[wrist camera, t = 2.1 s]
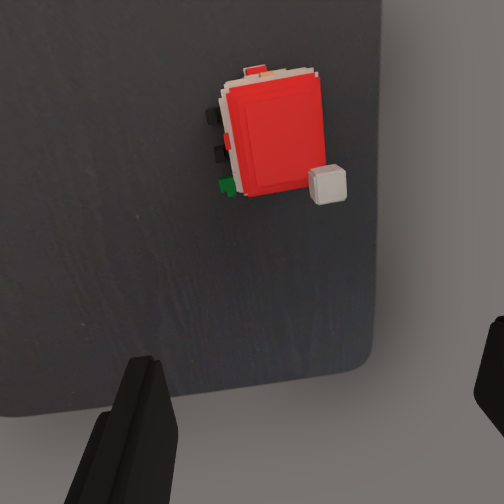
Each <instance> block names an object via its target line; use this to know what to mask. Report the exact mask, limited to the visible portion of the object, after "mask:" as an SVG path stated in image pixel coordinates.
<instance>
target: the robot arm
mask: <svg viewBox="0 0 504 504" xmlns="http://www.w3.org/2000/svg"><path fill="white" fill-rule="evenodd" d="M474 398H475V400H476V402H477V404H478V405H479V407H480V408H481V409H482V410H483V411H484V413H485V414H486V415H487V417H488V418H489V419H490V420H491V422H492V423H493V424H494V425H495V427H496V428H497V429H498V430H499V432H500V433H501V434H502V436H503V437H504V316H499V317H497V318H496V319H495V322H493V323H492V324H491V325H490V329H489V332H488V336H487V340H486V344H485V348H484V352H483V356H482V360H481V364H480V368H479V372H478V376H477V379H476V383H475V387H474ZM177 443H178V427H177V422H176V418H175V415H174V411H173V407H172V403H171V399H170V395H169V391H168V388H167V384H166V380H165V376H164V372H163V368H162V365H161V362H160V360H156V361H154V358H153V357H152V356H144V357H135V358H131V359H130V360H129V362H128V365H127V367H126V370H125V373H124V376H123V379H122V381H121V384H120V387H119V390H118V393H117V395H116V398H115V401H114V404H113V407H112V409H111V411H107V412H102V413H101V414H100V415H99V417H98V418H97V421H96V423H95V425H94V428H93V430H92V433H91V436H90V438H89V441H88V443H87V446H86V448H85V451H84V453H83V456H82V459H81V461H80V464H79V466H78V469H77V472H76V474H75V477H74V479H73V482H72V484H71V487H70V489H69V492H68V494H67V497H66V500H65V502H64V504H169V501H170V493H171V486H172V479H173V472H174V464H175V457H176V449H177Z"/></svg>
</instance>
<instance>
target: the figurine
mask: <svg viewBox="0 0 504 504" xmlns="http://www.w3.org/2000/svg"><path fill="white" fill-rule="evenodd" d="M243 72H244V77H243V79H239V80H233V81H228V82H225V83H226V84H224V88H225V89H221V95H222V98H219V105H220V107H217V108H211V109H207V110H206V116H207V121H208V124H214V123H218V122H219V121H223V125H224V130H225V133H223V136H224V141H225V145H222V146H217V147H214V155H215V159H216V163H221V162H225V159H230V161H231V167H232V172H233V175H228V176H223V177H219V185H220V190H221V192H228V197H234V196H236V191H235V190H237V192H238V191H239V192H240V193H242V192H243V193H244V196H246V195H248V197H253V196H259V195H264V194H270V193H276V192H281V191H287V190H292V189H298V188H303V187H309V190H310V196H311V198H312V199H313V200H314V202H315V203H317V204H318V205H322V204H327V203H333V202H338V201H344V200H345V198H347V189H346V171H345V170H343V169H342V168H341V167H339V166H338V165H336V164H332V165H326V155H325V142H324V128H323V114H322V100H321V87H320V77H318V72H314V71H313V68H309V69H306V67H304V68H298V69H293V70H287V71H286V69H281V70H275V71H267V69H266V65H265V64H264V65H259V66H253V67H248V68H243Z"/></svg>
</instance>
